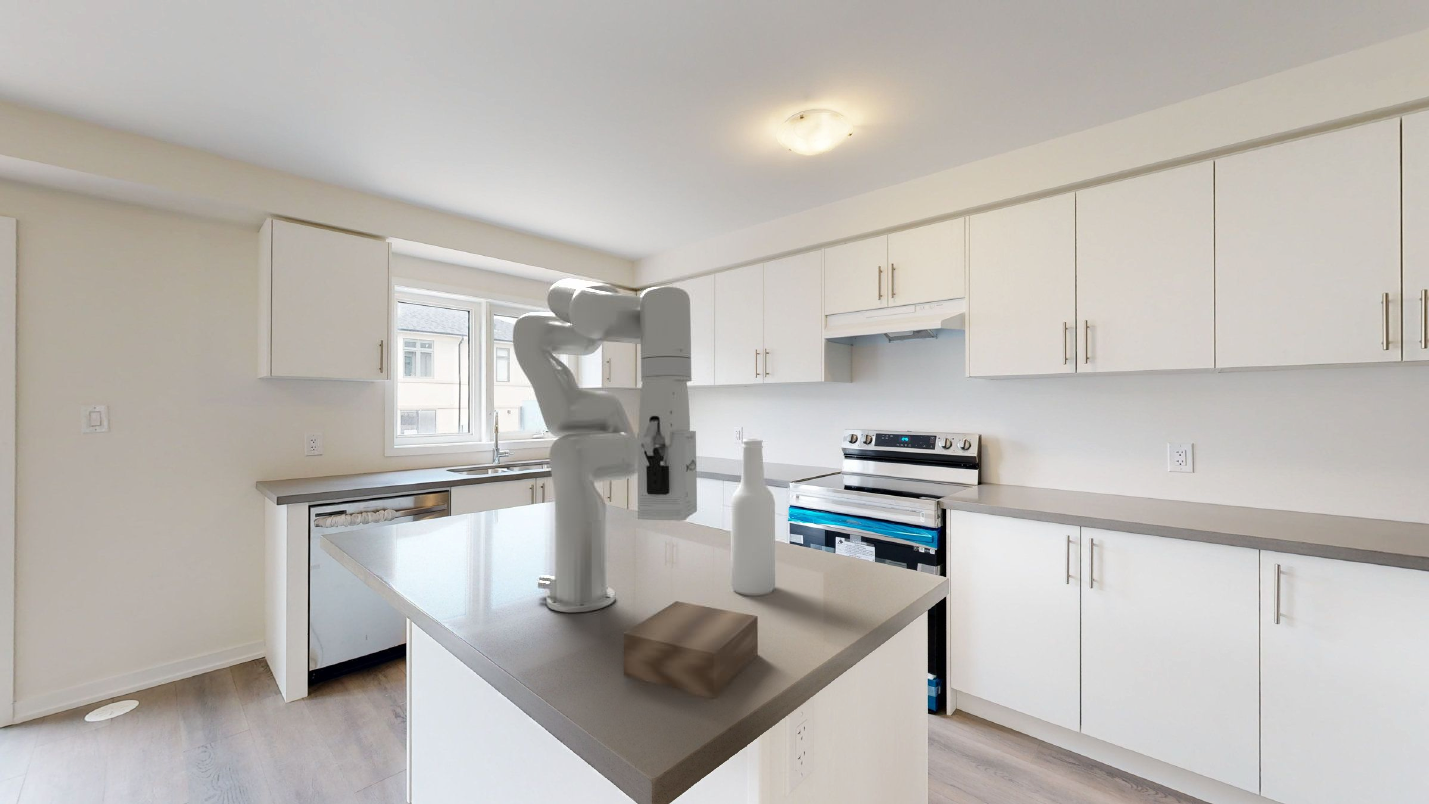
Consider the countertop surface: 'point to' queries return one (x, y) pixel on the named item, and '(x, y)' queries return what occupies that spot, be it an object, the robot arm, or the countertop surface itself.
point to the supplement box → (670, 480)
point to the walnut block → (691, 648)
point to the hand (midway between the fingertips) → (668, 489)
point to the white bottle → (752, 527)
